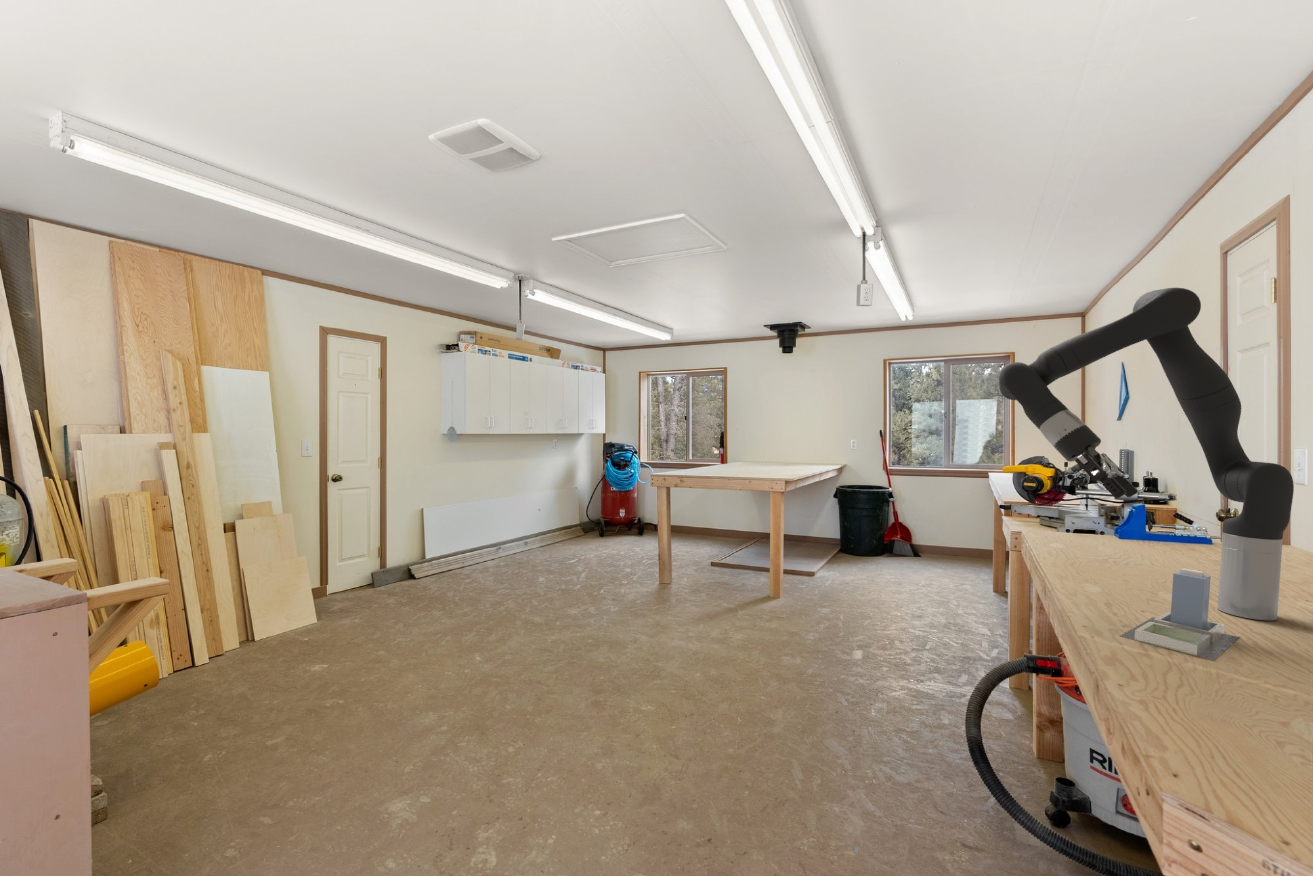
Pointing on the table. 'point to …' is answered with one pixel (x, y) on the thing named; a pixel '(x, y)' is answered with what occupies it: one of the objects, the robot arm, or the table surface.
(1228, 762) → the table surface
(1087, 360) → the robot arm
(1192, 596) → the plug
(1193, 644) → the panel
